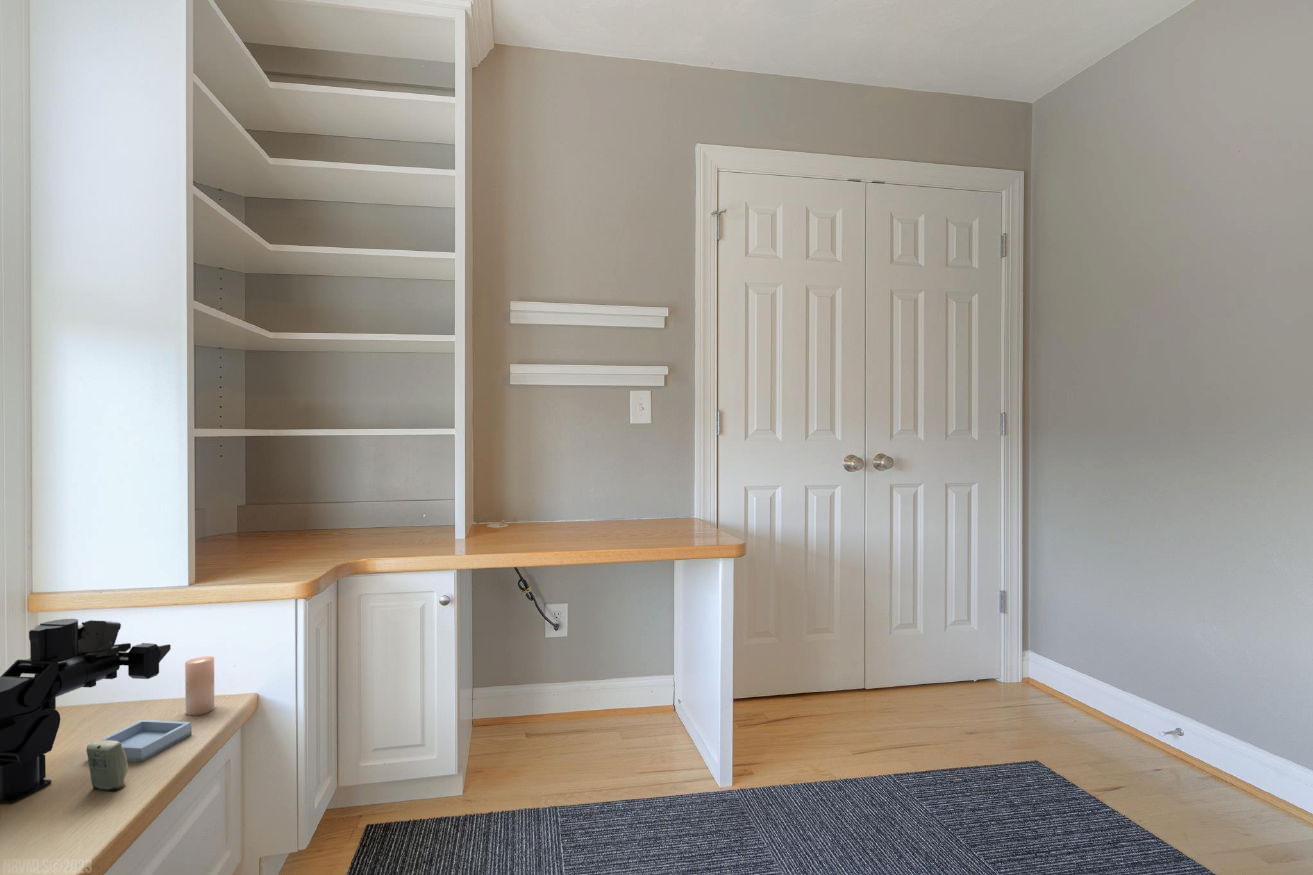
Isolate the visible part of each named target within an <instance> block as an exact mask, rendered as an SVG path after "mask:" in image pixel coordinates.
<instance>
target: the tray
mask: <svg viewBox="0 0 1313 875" xmlns="http://www.w3.org/2000/svg"><path fill="white" fill-rule="evenodd" d="M191 735H192V722H191V721H175V720H154V719H153V720H152V719H141V720H139V721H136V722H134V723H133V724H131V725H129V726H127V727H124V728H123V729H120V730H118V731H117V732H114V733H112V734H110V735H108V736H106V737H103V738H102V739H100V740H98V741H104V740H111V741H118V742H120V743H121V745H122V747H123V749H124V752H125V754H126V758H127V762H137V763H143V762H145V761H146V760H148V759H150V758H151V757H153V756H155V755H157V754H159V753H160V752H163V751H164V750H166V749H167V748H169V747H171V746H173V745H175V744H177V743H179V742H180V741H182V740H184V739H185V738H188V737H190V736H191Z"/></svg>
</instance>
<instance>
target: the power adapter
mask: <svg viewBox="0 0 1313 875" xmlns="http://www.w3.org/2000/svg"><path fill="white" fill-rule="evenodd" d="M86 756H87V760H88V761H87V762H88V767H89V772H90V773H89V774H90V781H91V785H92V788H93V790H94V791H103V792H116V791H119V790H121V789H123V788H125V787H126V785H125V778H126V776H127V774H128V773H129V772H128V771H129V765H128V761H127V758H126V754H125V752H124V749H123V747H122V745H121V743H120V742H118V741H111V740H104V741H99V740H97V741H93V742H90V743H89V744H88V745H87V746H86Z"/></svg>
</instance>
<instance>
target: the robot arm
mask: <svg viewBox="0 0 1313 875" xmlns="http://www.w3.org/2000/svg"><path fill="white" fill-rule="evenodd" d="M121 628H122V624H121V622H119V621H112V620H110V621H109V620H92V619H91V620H87V621H83V622H81V624H80V625H79V619H77V618H63V619H53V620H49V621H45V622H40V623H39V624H38V625H37V626H35V627H34V629H31V630H29V631H28V639H29V644H30V650H29V651H30V653H29V654H30V658H28V659H16V660H15V661H14V663H13V664H12V665H11V666H10V667H9V668H8V669H6V671H4V672H3V673H2V675H1V676H0V804H13V803H16V802H18V801H19V800H22V799H23V798H26V797H28V796H29V795H31V794H33V793H35V792H37V791H39V790H40V789H43V788H45V787H47V786H49V785H51V784H52V781H53V780H52V779H46V776H47V775H46V770H47V768H46V754H47V753H49V752H51V751H52V750H53V747H54V744H55V741H56V738H57V734H58V731H59V729H60V724H61V715H60V714H61V713H60V712H59V711H58V710H57V709H56V706H57V705H56V704H57V703H56V702H57V701H56V700H57V698H58V697H59V696H62V695H65V694H67V693H70V692H72V691H76V690H78V689H81V688H93V687H96V686H97V682H99V681H101V680H113V679H116V678H118V671H119V670H120V667H121V666H127V668H128V670H127V672H128V674H127V676H128V677H130V678H131V679H141V680H142V679H143V680H149V679H151V678H154V677H157V675H159V673H160V663H161V661H162V660H163V659H164V658H165V657H166V655H167V654H168V653H169V652H170V650H171V648H172V647H171V644H164V645H163V644H162V645H158V644H156V643H145V642H142V643H141V644H140V643H139V644H136V645H133V646H132V645H131V642H129V643H128V642H127V643H126V642H125V643H117V644H116V641H117V639H118V638H117V637H118V634H119V631H120V630H121ZM23 674H24V675H25V674H26V675H34V676H33V677H31V676H22V675H23ZM15 801H16V802H15Z"/></svg>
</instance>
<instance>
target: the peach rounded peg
mask: <svg viewBox="0 0 1313 875" xmlns="http://www.w3.org/2000/svg"><path fill="white" fill-rule="evenodd" d="M184 667H185V670H184V671H185V672H184V673H185V674H184V678H185V679H184V682H185V684H184V685H185V686H184V688H185V691H184V692H185V695H184V696H185V715H187V716H189V715H194V716H200V715H204V713H205V714H207V713H210V712H212V711H214V709H215V708H216V707H215V703H216V702H215V698H216V697H215V657H213V656H211V655H209V656H207V655H206V656H200V657H195V658H190V659H189V660H186V661H185V663H184ZM209 711H210V712H209Z"/></svg>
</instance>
